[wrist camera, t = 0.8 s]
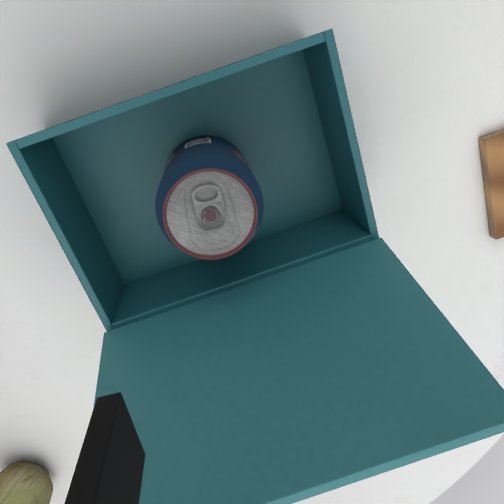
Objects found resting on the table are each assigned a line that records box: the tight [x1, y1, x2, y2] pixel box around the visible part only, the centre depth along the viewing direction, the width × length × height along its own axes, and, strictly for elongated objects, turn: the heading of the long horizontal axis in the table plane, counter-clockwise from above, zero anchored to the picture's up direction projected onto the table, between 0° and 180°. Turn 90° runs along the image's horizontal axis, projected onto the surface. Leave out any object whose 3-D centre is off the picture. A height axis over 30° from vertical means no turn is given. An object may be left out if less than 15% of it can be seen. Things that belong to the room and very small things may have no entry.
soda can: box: [155, 135, 264, 260], centre depth 32 cm, size 7×7×12 cm
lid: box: [94, 238, 504, 504], centre depth 27 cm, size 16×22×1 cm
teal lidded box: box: [7, 29, 379, 332], centre depth 35 cm, size 15×22×8 cm
